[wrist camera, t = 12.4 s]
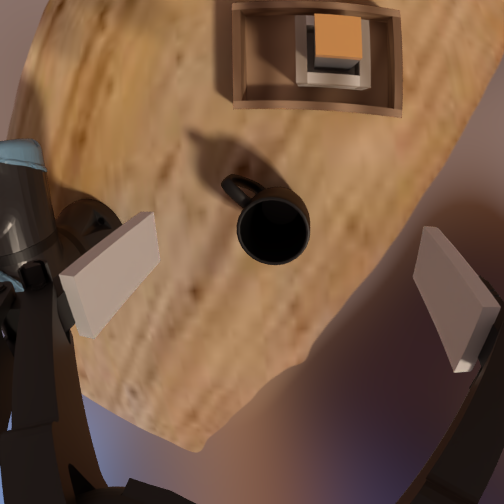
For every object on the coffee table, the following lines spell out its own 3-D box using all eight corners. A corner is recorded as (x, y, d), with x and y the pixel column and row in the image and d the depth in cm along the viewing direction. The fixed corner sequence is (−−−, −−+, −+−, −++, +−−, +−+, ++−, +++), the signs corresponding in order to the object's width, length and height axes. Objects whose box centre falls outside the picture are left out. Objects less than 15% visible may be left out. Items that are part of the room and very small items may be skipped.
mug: (262, 144, 41) (249, 154, 32) (322, 210, 43) (325, 237, 35) (220, 184, 44) (197, 204, 36) (278, 245, 47) (270, 278, 38)
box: (240, 108, 39) (227, 109, 33) (238, 11, 33) (225, -4, 27) (393, 116, 36) (409, 119, 30) (392, 18, 30) (406, 3, 24)
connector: (314, 69, 33) (315, 54, 23) (313, 38, 31) (314, 13, 21) (347, 71, 32) (362, 58, 22) (347, 40, 30) (360, 17, 21)
